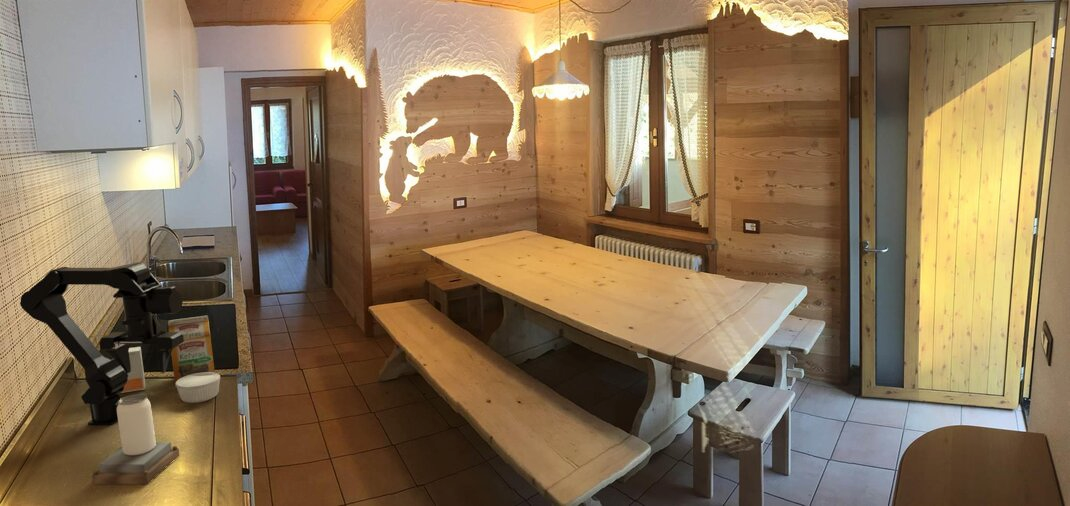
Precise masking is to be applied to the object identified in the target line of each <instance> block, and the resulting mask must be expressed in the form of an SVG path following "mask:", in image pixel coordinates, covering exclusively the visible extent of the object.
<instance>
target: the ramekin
mask: <svg viewBox="0 0 1070 506" xmlns="http://www.w3.org/2000/svg"><path fill="white" fill-rule="evenodd" d="M220 381H221V375H220V374H219V373H217V372H215V373H213V372H203V373H195V374H191V375H187V376H184V377H182V378H180V379H179V380H177V381H176V386H175V389H177V392H178V396H179V397H180V400H182V401H183V402H184V403H190V404H191V403H193V404H194V403H195V404H196V403H201V402H206V401H208V400H209V401H210V400H211V399H213V398H215V397H216V396H217V395H218V394H219V391H220Z"/></svg>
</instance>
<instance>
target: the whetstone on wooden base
mask: <svg viewBox="0 0 1070 506" xmlns="http://www.w3.org/2000/svg"><path fill="white" fill-rule="evenodd" d="M178 456H179V457H180V451H179V448H178V445H174V446H172V443H171V441H167V442H166V441H156V446H155V447H154V449H153V450H151V451H150V452H148V453H145V454H142V455H137V456H128V455H126V454H124V453H123V449H122V446H121V447H119V448H118V449H117V450H115V451H114V452H112V453H111V454H110V455H109V456H106V458H105V459H103V460H102V461H101V462H99V463H98V464H97V465H98V470H97V469H96V470H93V472H92V474H91V477H92V484H95V485H98V484H99V485H101V484H102V485H103V484H104V485H149V484H150V483H151V482H152V481H153V480H154V479H155V478H156V477H155V476H156V475H157V474H158V473H160V472H161V471H162V470H163V469H164V468H165V467H166V466H168V465H169V464H170V463H171V462H172V461H173V460H175V459H176V458H177V457H178ZM179 457H178V458H179ZM178 458H177V459H178ZM177 459H176V460H177ZM176 460H175V461H176ZM172 463H173V462H172ZM172 463H171V464H172ZM171 464H170V465H171ZM170 465H169V466H170ZM169 466H168V467H169ZM164 470H165V469H164ZM164 470H163V471H164ZM163 471H162V472H163ZM162 472H161V473H162ZM161 473H160V474H161ZM154 477H155V478H154ZM153 478H154V479H153ZM152 479H153V480H152ZM151 480H152V481H151ZM150 481H151V482H150ZM149 482H150V483H149ZM148 483H149V484H148Z"/></svg>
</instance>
